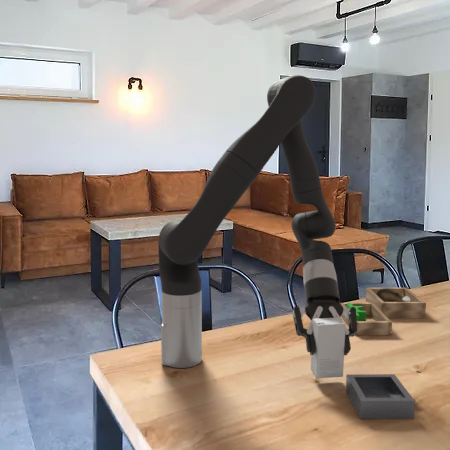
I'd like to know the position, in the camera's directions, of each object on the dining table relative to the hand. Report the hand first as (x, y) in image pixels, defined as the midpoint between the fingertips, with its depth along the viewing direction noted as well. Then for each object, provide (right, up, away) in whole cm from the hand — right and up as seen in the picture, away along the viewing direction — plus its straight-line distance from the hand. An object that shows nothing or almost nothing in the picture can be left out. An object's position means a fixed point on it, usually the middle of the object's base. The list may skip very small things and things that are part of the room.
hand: (329, 353), depth 107 cm
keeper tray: (+8, -8, -6) cm, 13 cm away
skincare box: (0, -5, +3) cm, 6 cm away
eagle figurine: (+30, 0, +50) cm, 59 cm away
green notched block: (+16, -2, +39) cm, 42 cm away
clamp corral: (+18, -1, +38) cm, 42 cm away
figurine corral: (+30, +1, +51) cm, 60 cm away
